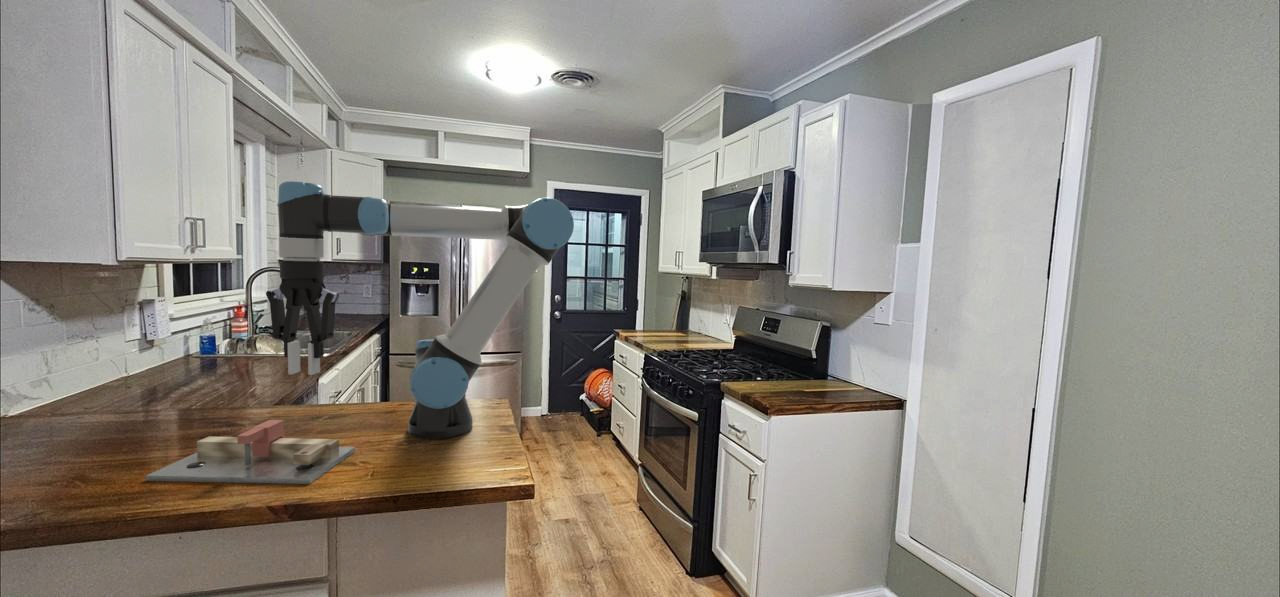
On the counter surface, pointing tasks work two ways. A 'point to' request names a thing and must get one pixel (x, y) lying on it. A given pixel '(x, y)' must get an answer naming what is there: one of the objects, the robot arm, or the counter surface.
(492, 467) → the counter surface
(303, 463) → the beam with fixed leg
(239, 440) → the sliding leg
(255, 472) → the steel plate
